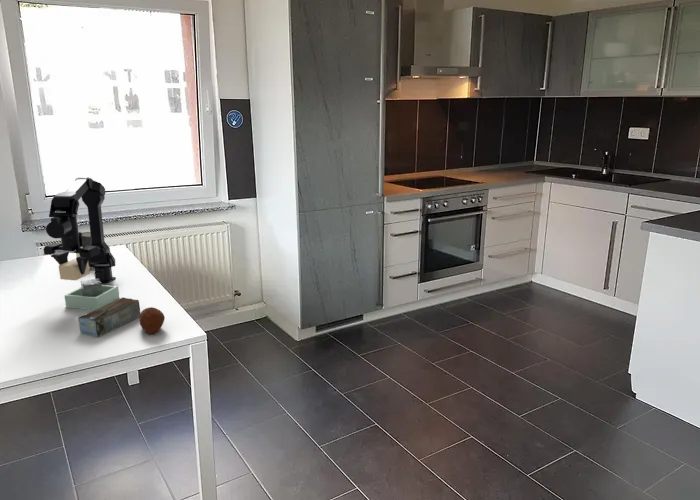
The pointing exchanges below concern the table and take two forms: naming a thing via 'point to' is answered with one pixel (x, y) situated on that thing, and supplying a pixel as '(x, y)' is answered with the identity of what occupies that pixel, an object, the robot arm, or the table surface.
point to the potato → (151, 320)
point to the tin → (91, 288)
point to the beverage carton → (109, 317)
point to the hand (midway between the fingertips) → (75, 273)
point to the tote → (92, 298)
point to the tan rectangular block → (72, 270)
